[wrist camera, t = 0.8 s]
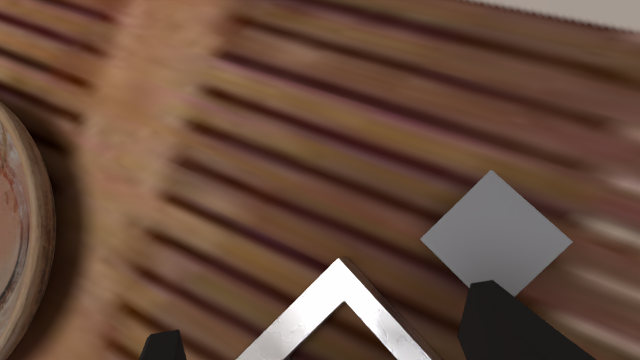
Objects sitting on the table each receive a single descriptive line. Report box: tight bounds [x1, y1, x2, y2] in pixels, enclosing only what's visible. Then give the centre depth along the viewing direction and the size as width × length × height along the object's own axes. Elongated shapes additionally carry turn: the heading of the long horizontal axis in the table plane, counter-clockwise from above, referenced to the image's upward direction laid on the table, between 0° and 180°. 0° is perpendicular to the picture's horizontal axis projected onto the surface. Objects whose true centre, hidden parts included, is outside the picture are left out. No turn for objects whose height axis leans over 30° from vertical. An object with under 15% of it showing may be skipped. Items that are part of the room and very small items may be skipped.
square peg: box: [420, 170, 572, 297], centre depth 22 cm, size 4×4×8 cm
